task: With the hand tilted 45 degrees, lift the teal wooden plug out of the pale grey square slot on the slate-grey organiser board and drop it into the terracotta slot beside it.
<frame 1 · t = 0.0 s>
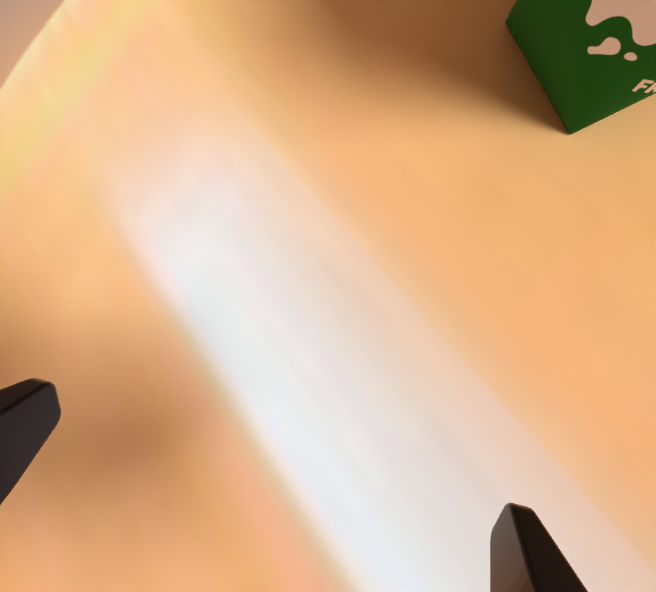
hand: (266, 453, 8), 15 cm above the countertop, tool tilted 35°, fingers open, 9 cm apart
milk carton: (595, 50, 23), on the countertop
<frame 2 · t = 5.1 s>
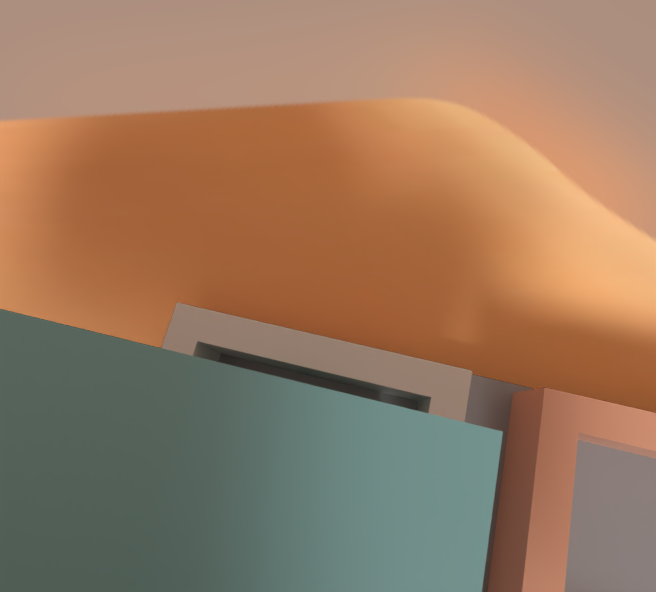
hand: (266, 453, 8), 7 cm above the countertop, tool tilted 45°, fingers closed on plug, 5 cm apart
organiser: (454, 522, 15), on the countertop
plug: (290, 483, 14), point 1 cm above the countertop, touching gripper, organiser
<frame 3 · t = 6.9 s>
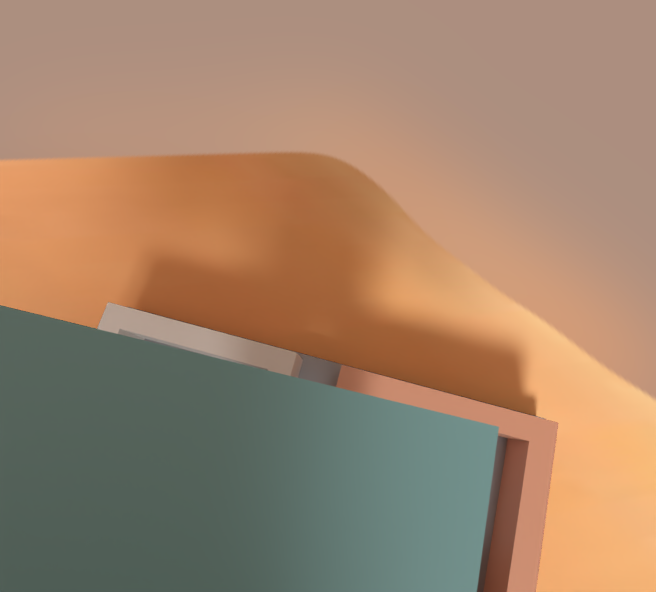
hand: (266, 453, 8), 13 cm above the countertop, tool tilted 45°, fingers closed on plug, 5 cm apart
organiser: (299, 459, 21), on the countertop
plug: (290, 482, 14), point 7 cm above the countertop, touching gripper
when the fingers open (9 cm above the countertop, at t = 8.8 s): plug drops 1 cm, resting on organiser.
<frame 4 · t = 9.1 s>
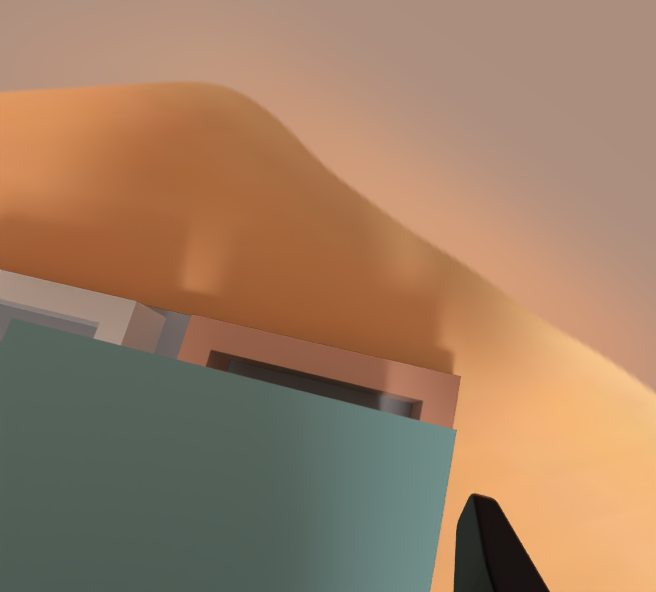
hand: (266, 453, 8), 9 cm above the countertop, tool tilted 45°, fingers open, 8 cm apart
organiser: (162, 439, 17), on the countertop
plug: (295, 477, 16), point 1 cm above the countertop, touching organiser
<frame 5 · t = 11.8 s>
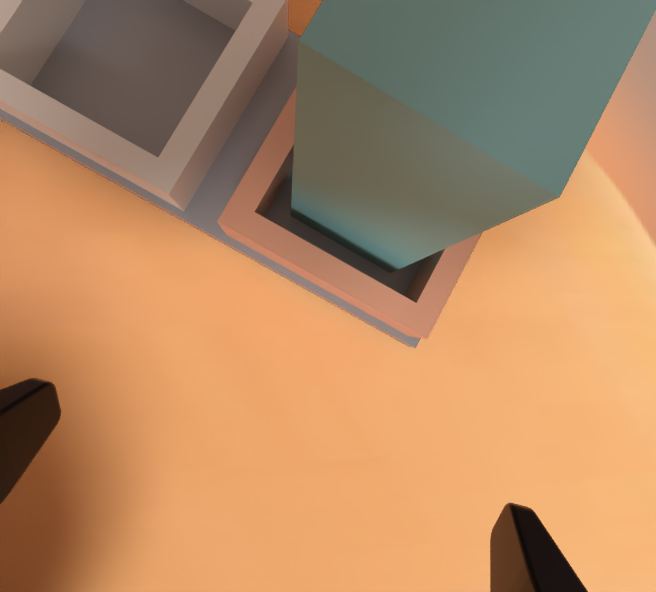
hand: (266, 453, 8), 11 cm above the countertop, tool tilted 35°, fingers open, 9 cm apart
organiser: (259, 143, 20), on the countertop
plug: (368, 195, 19), point 1 cm above the countertop, touching organiser
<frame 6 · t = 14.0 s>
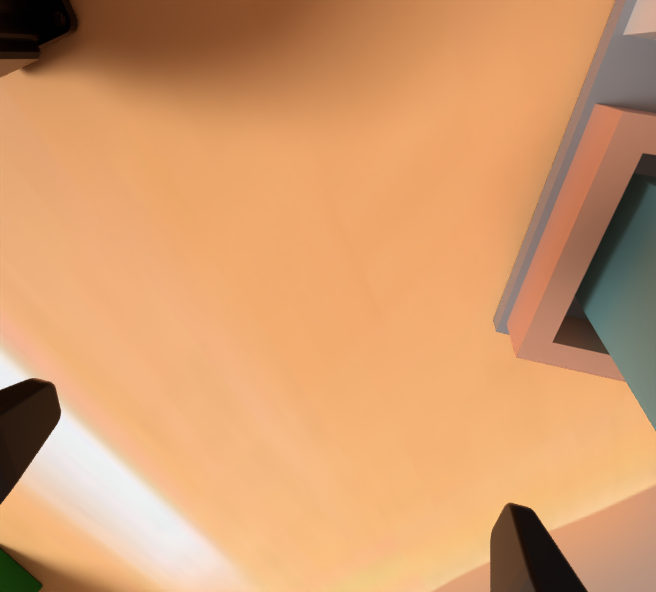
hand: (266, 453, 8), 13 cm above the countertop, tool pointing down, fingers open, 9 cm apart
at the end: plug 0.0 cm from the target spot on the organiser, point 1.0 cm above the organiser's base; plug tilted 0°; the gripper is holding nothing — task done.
